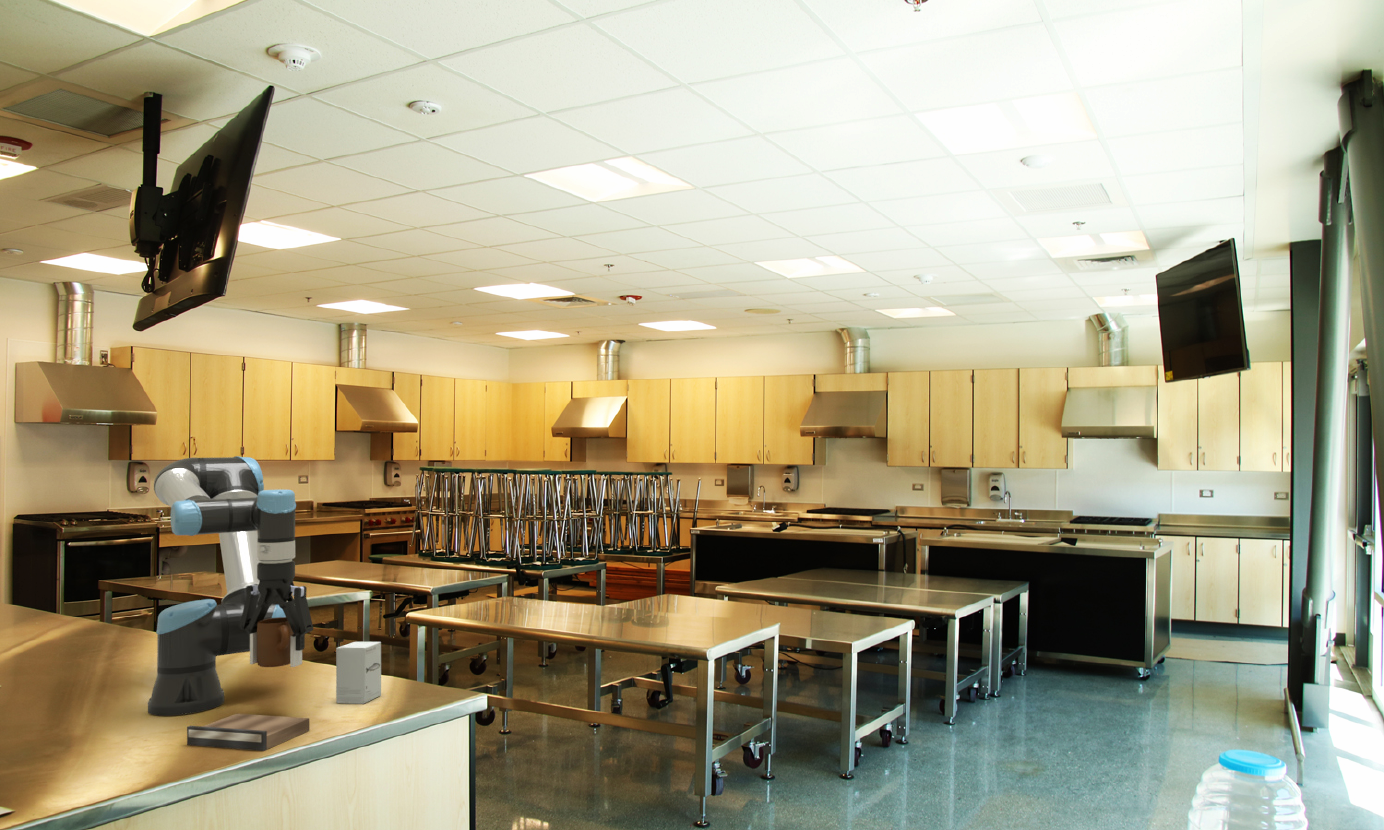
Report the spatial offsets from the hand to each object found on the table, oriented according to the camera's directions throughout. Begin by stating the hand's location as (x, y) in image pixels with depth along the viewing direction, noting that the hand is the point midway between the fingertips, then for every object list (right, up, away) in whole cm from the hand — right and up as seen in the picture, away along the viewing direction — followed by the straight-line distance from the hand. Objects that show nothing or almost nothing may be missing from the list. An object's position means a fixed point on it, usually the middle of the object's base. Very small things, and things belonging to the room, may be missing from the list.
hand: (275, 663), depth 194 cm
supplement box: (+14, -12, +12) cm, 22 cm away
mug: (+1, 0, 0) cm, 1 cm away
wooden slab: (+2, -11, -15) cm, 18 cm away
